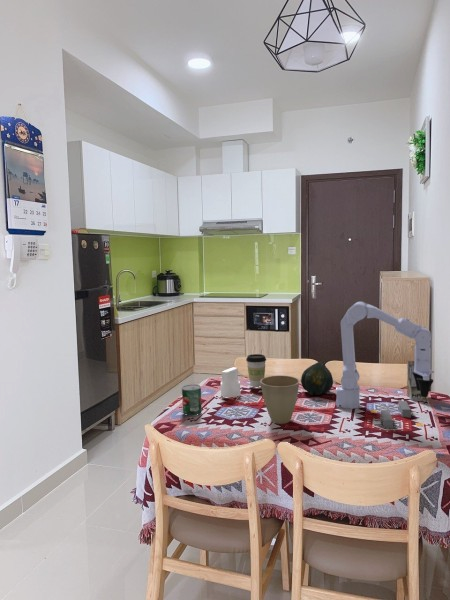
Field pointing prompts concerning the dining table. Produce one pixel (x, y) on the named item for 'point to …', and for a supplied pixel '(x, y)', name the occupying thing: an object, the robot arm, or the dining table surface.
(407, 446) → the dining table surface
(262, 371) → the coffee cup
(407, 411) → the slider back
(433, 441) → the dining table surface
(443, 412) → the dining table surface
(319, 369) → the squash
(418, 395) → the coffee box
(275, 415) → the plant pot
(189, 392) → the canned tomato
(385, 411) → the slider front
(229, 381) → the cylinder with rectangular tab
